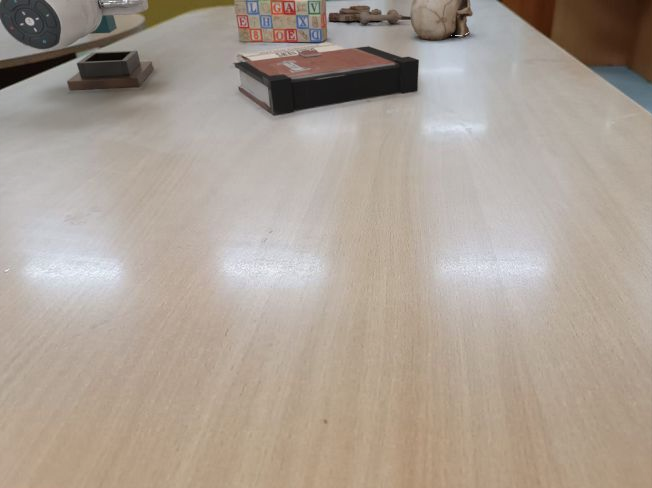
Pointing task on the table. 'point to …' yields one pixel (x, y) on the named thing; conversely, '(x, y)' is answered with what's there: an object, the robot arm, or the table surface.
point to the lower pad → (110, 71)
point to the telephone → (366, 15)
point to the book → (326, 78)
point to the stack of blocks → (281, 20)
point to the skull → (440, 18)
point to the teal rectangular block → (106, 25)
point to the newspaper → (287, 51)
